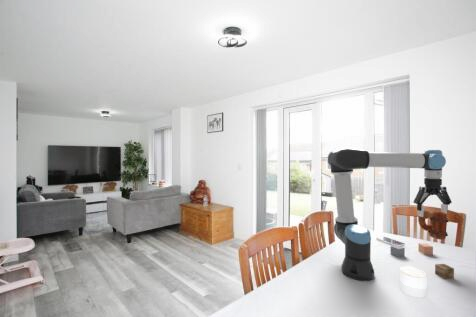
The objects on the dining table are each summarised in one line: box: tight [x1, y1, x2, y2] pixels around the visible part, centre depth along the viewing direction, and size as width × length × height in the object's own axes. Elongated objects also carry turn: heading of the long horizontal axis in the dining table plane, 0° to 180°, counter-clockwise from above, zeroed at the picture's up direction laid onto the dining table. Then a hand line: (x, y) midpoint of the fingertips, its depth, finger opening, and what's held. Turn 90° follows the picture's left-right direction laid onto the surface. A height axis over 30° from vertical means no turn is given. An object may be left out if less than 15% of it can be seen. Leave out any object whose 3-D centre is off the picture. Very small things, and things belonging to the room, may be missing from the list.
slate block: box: [390, 244, 406, 258], centre depth 143 cm, size 5×5×5 cm
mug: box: [417, 209, 449, 241], centre depth 131 cm, size 15×8×15 cm, turn 84°
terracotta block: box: [418, 242, 434, 256], centre depth 145 cm, size 5×5×5 cm
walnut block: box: [434, 263, 455, 280], centre depth 118 cm, size 5×5×5 cm
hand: (432, 216), depth 131 cm, fingers closed on mug, 13 cm apart
